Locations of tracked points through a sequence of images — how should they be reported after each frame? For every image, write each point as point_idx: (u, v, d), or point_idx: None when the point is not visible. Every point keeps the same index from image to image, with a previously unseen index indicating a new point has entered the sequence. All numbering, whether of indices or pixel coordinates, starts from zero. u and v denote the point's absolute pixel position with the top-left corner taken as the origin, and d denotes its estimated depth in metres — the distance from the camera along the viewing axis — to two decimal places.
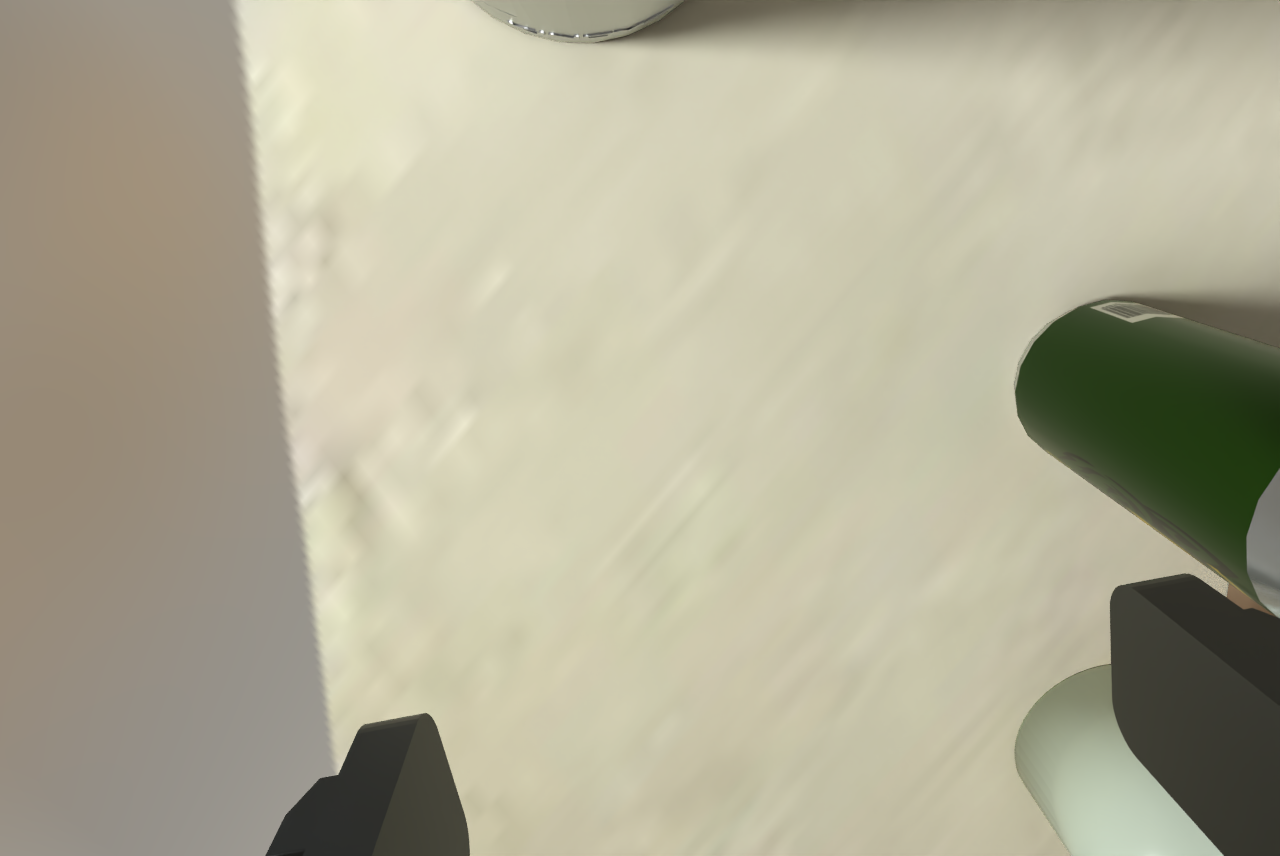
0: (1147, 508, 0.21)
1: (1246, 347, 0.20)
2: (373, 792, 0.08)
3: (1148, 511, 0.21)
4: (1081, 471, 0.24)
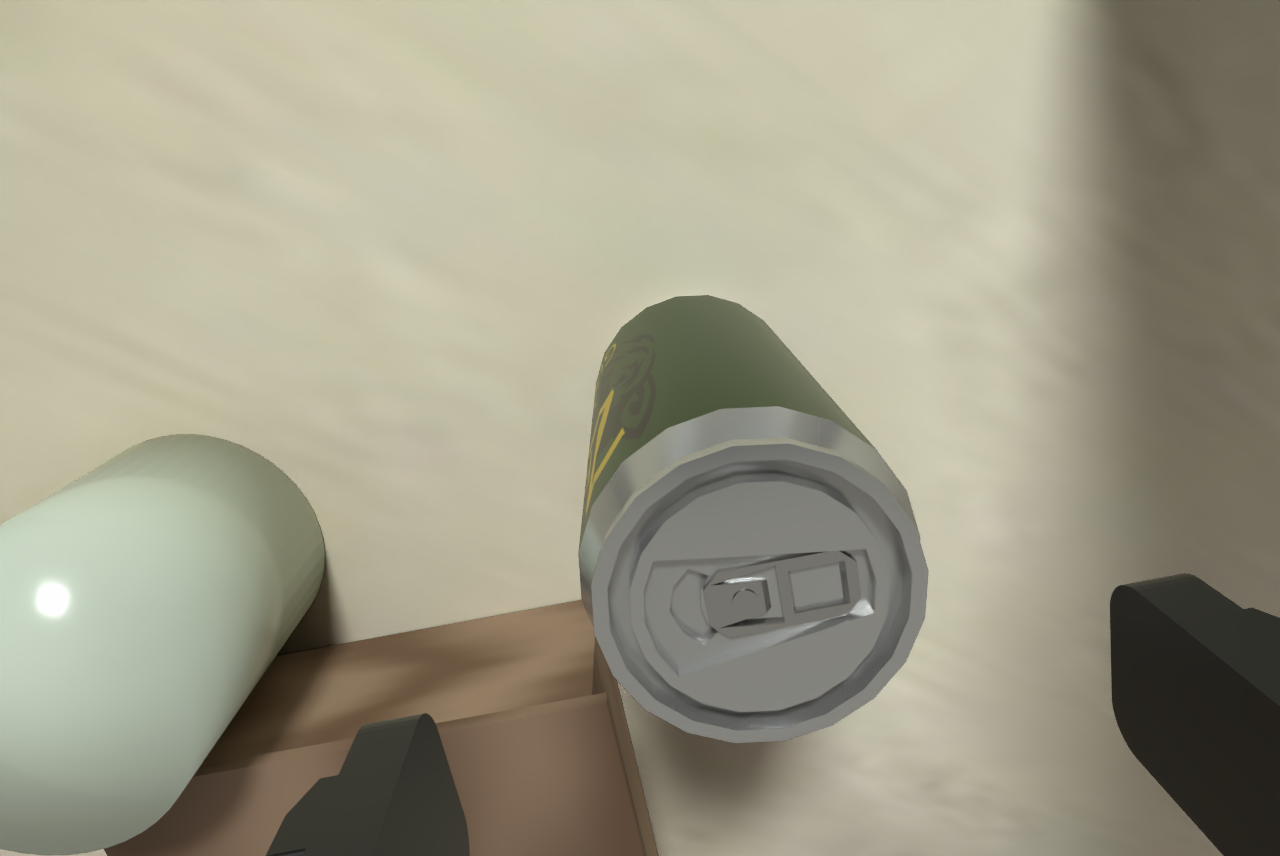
0: (648, 377, 0.16)
1: None
2: (373, 792, 0.08)
3: (643, 380, 0.16)
4: (626, 352, 0.19)
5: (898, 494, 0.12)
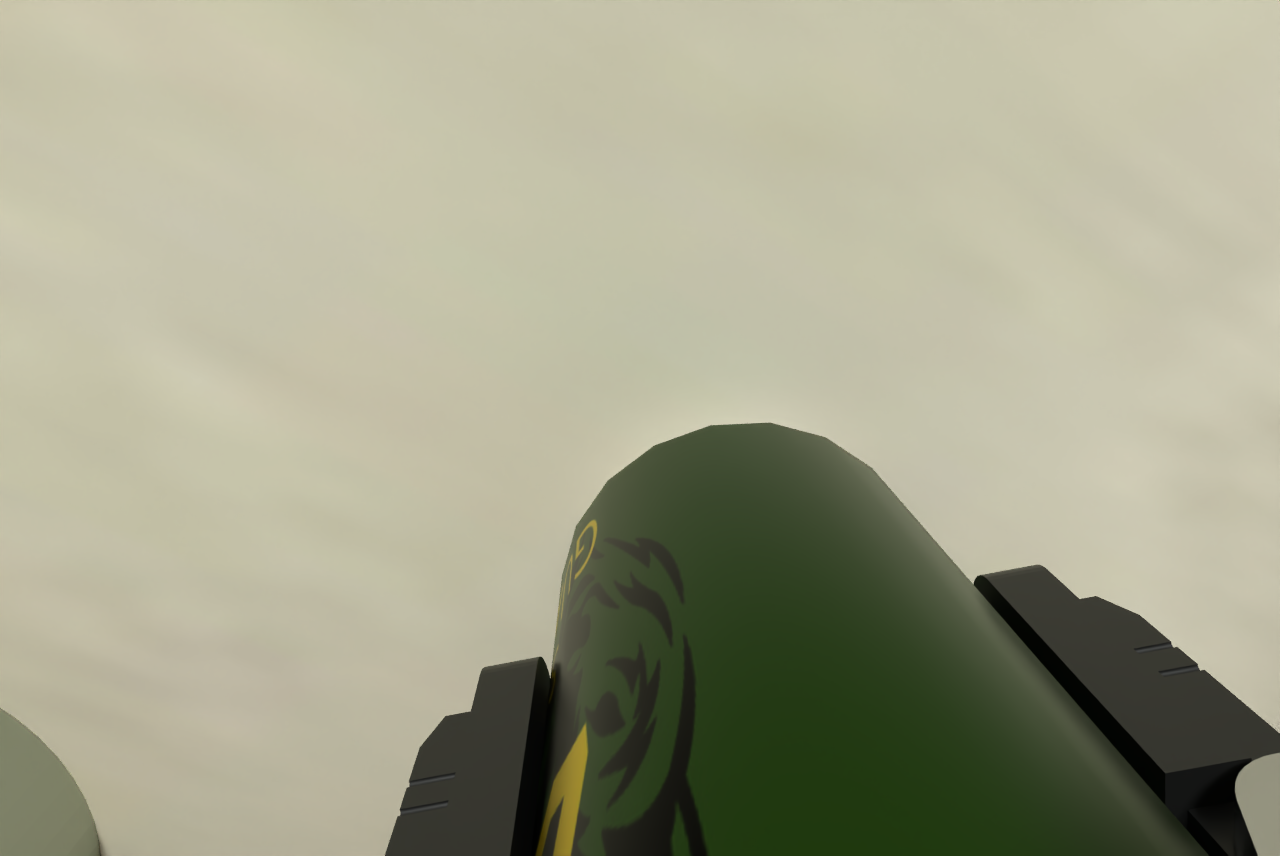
0: (683, 799, 0.05)
1: None
2: (509, 721, 0.09)
3: (668, 802, 0.05)
4: (618, 587, 0.09)
5: None
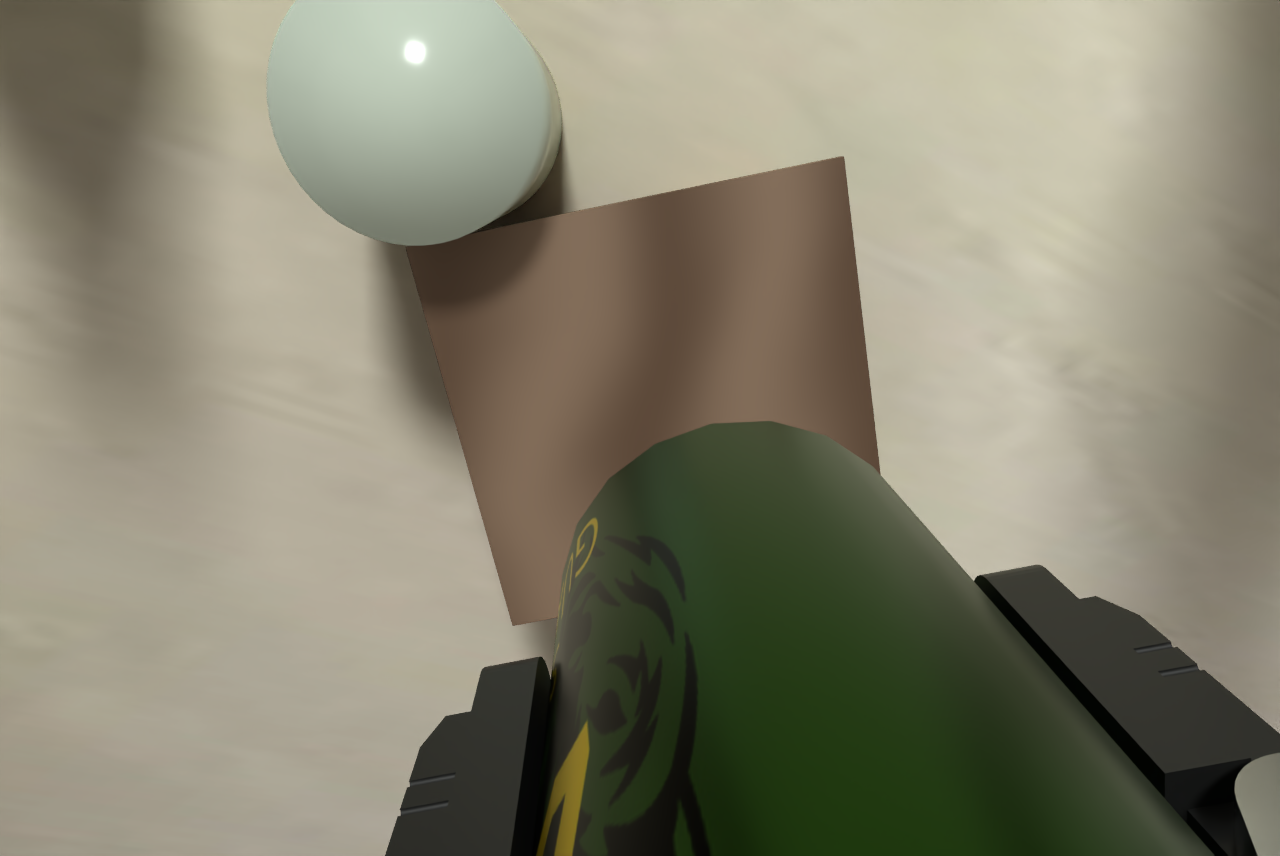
0: (686, 795, 0.05)
1: None
2: (509, 721, 0.09)
3: (670, 798, 0.05)
4: (619, 585, 0.09)
5: None
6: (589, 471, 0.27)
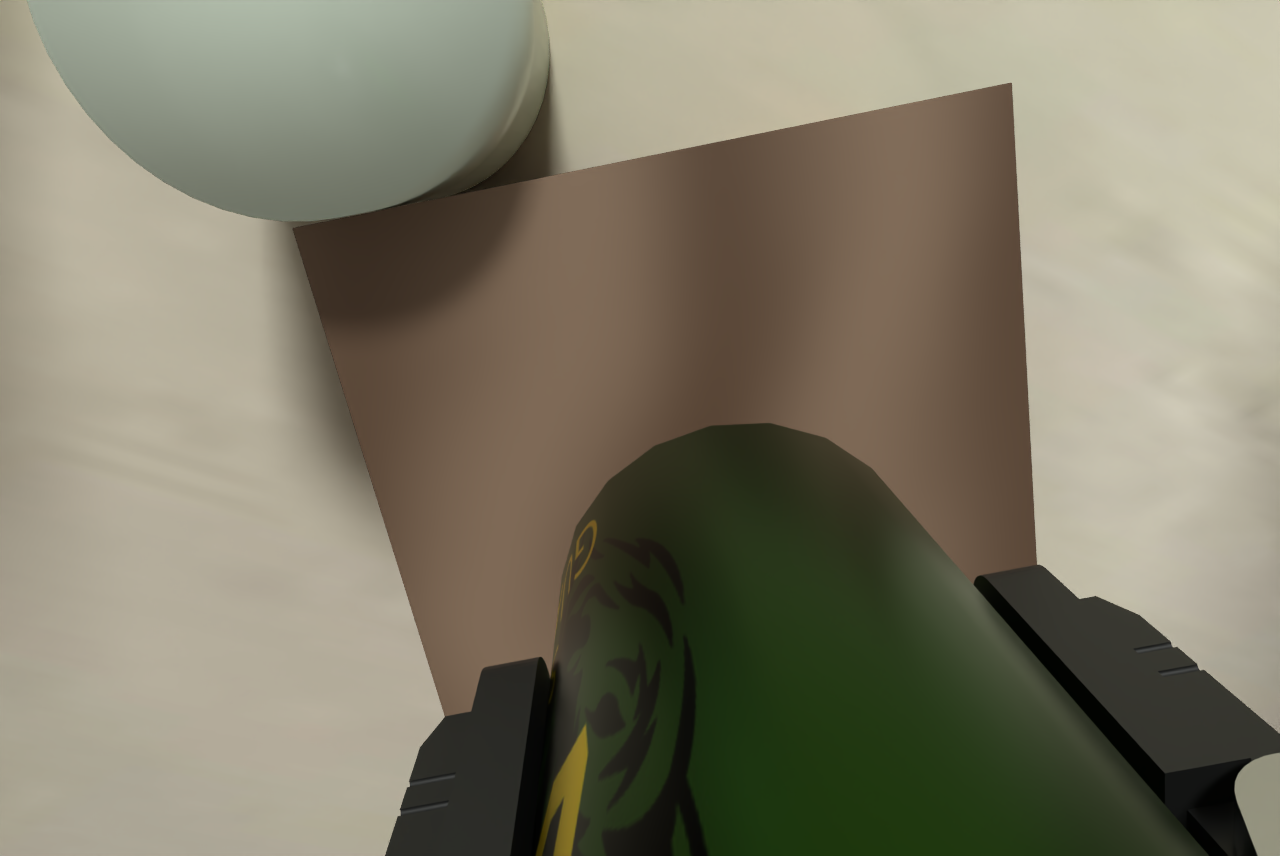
0: (683, 799, 0.05)
1: None
2: (509, 721, 0.09)
3: (668, 804, 0.05)
4: (618, 588, 0.09)
5: None
6: None
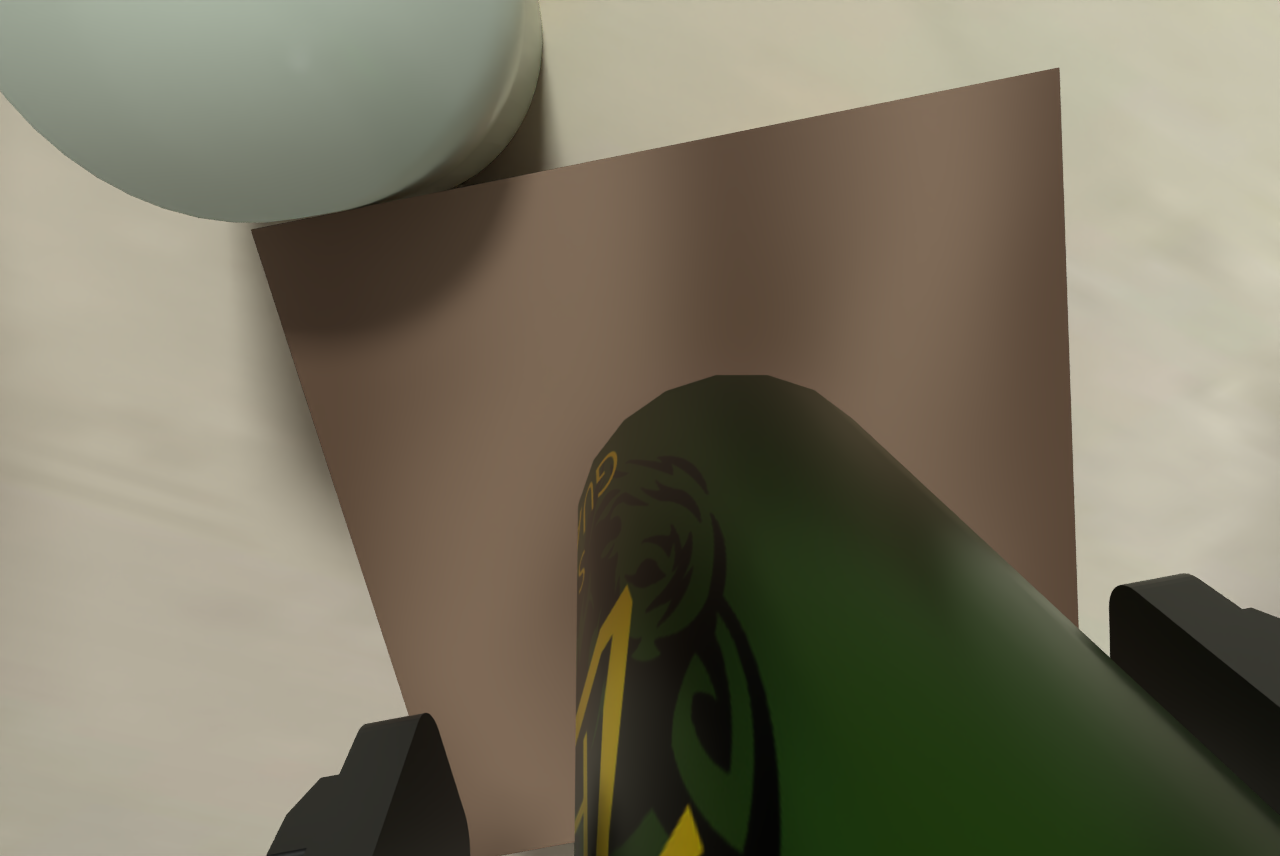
0: (722, 608, 0.07)
1: None
2: (374, 792, 0.08)
3: (710, 612, 0.07)
4: (645, 491, 0.10)
5: None
6: None
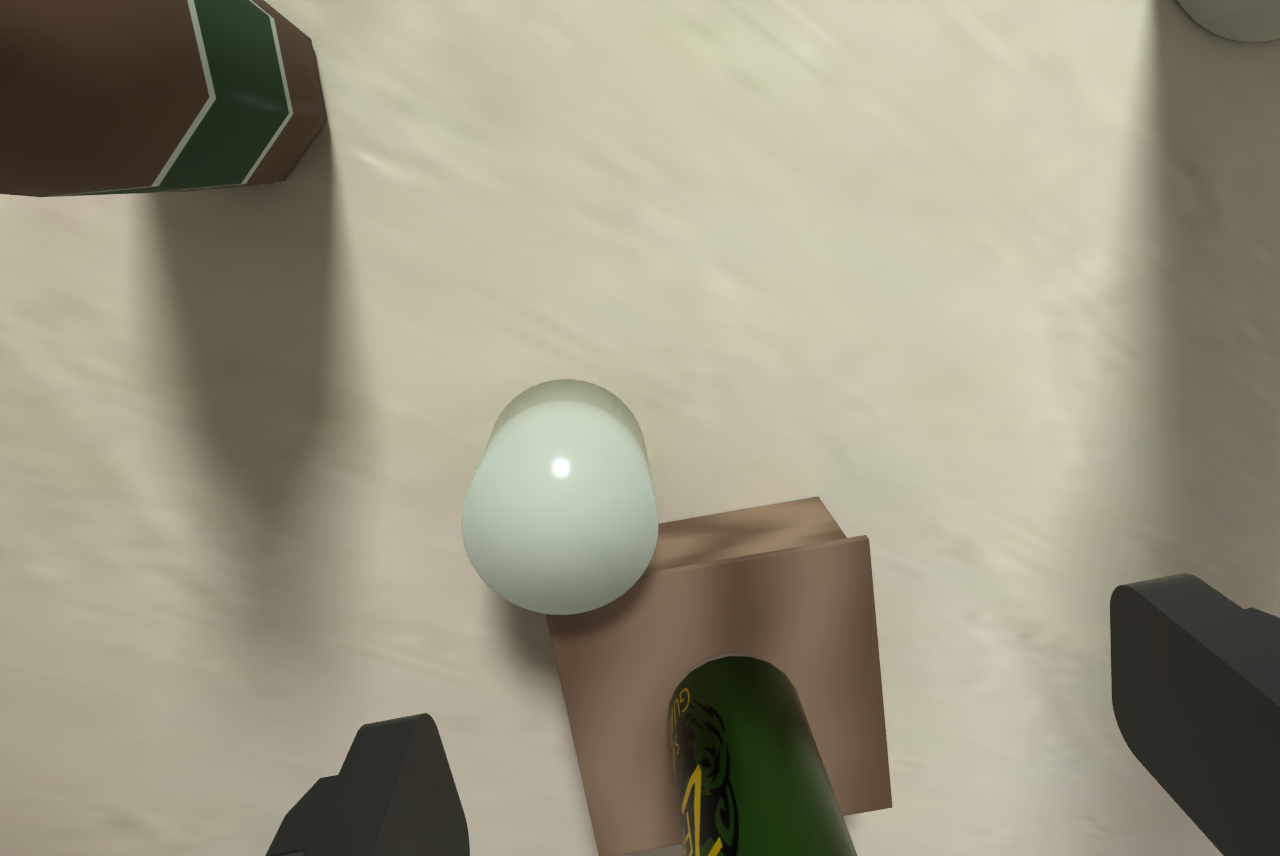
0: (728, 783, 0.27)
1: None
2: (373, 792, 0.08)
3: (724, 783, 0.27)
4: (703, 723, 0.30)
5: None
6: (667, 748, 0.35)
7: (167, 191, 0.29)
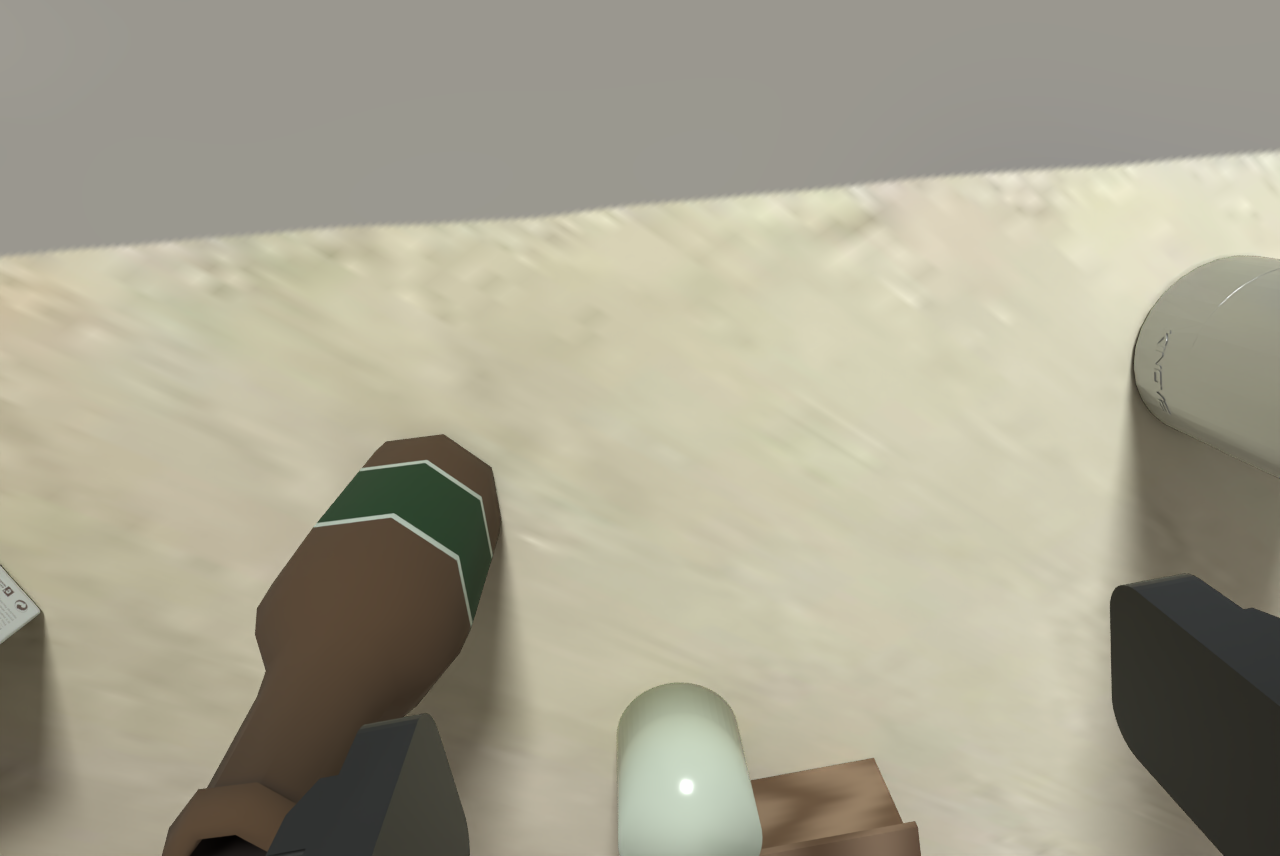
0: None
1: None
2: (372, 792, 0.08)
3: None
4: None
5: None
6: None
7: None
